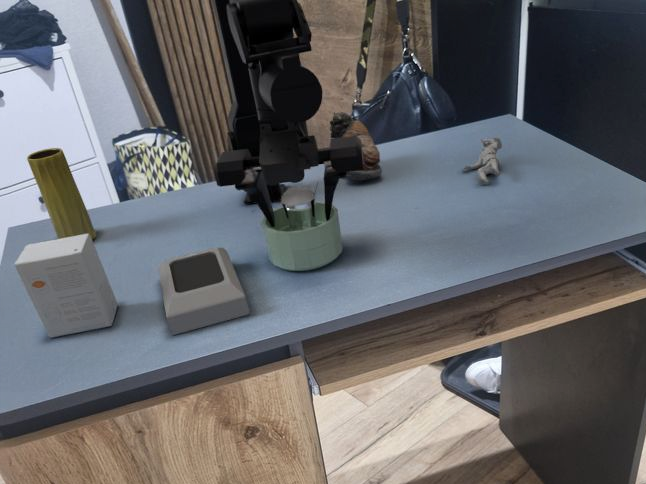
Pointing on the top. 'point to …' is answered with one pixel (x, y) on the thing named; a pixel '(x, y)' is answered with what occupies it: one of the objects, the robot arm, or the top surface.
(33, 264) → the small box
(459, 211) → the top surface
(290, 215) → the milkshake
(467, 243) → the top surface
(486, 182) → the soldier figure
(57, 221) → the vase
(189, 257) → the grey flat block
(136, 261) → the top surface
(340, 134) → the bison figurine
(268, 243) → the sage green round tub
